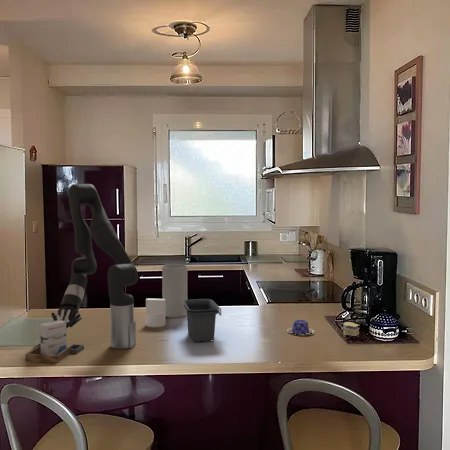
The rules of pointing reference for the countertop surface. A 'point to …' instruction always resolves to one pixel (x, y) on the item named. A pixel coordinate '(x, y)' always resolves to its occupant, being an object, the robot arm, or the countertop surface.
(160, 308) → the cylinder with rectangular tab
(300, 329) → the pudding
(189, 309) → the storage bin
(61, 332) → the ink box
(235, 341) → the countertop surface
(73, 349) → the trap pits
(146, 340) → the countertop surface
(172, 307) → the cylinder vase
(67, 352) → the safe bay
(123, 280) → the robot arm
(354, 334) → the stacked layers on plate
